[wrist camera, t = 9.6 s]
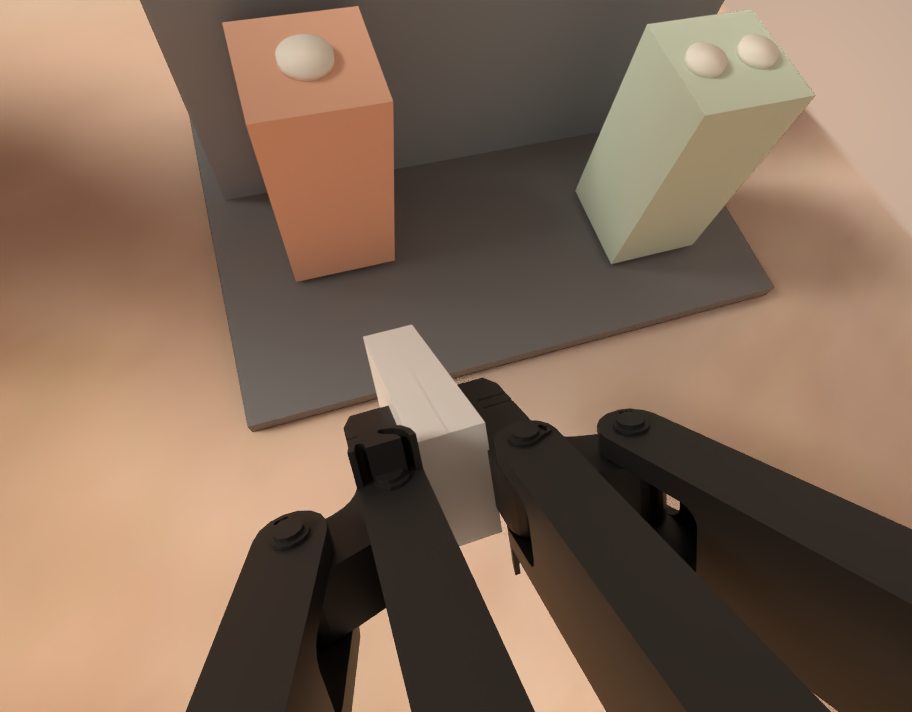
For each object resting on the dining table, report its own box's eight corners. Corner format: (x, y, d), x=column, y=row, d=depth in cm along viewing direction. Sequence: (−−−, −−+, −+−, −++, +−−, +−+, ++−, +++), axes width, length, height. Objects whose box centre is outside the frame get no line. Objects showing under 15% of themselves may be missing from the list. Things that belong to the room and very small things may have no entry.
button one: (394, 260, 29) (393, 94, 19) (296, 282, 28) (243, 117, 18) (370, 184, 30) (357, -2, 21) (276, 202, 29) (219, 14, 20)
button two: (692, 245, 31) (821, 88, 22) (610, 264, 30) (709, 109, 20) (653, 174, 33) (756, 2, 23) (575, 190, 32) (650, 17, 22)
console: (765, 294, 31) (983, 112, 20) (251, 431, 26) (129, 289, 14) (618, 47, 38) (715, -195, 27) (191, 111, 33) (76, -162, 21)
